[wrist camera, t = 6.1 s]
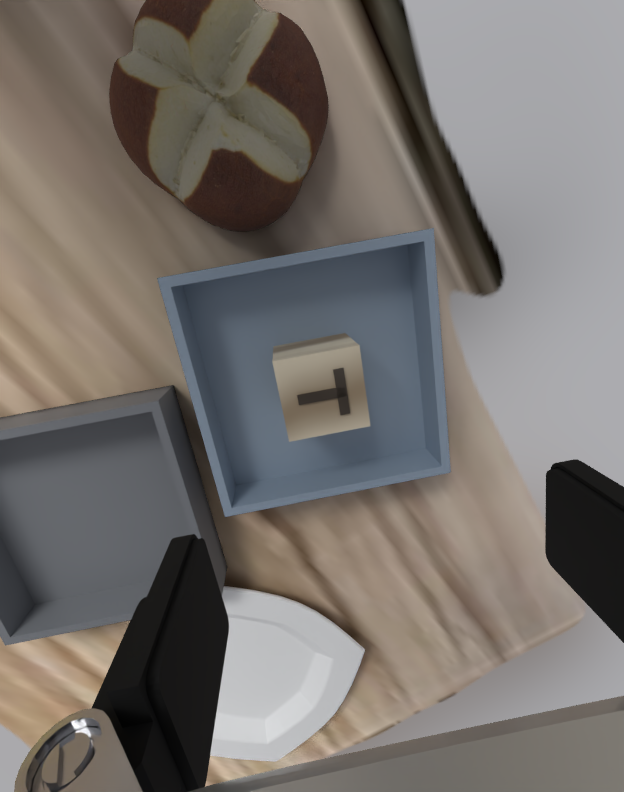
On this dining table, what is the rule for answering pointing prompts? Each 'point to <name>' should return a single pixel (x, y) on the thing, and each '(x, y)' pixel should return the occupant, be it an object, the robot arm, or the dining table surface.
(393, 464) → the slate bin
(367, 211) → the dining table surface
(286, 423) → the letter cube
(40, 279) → the dining table surface
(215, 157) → the bread
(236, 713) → the plate
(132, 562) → the charcoal bin
